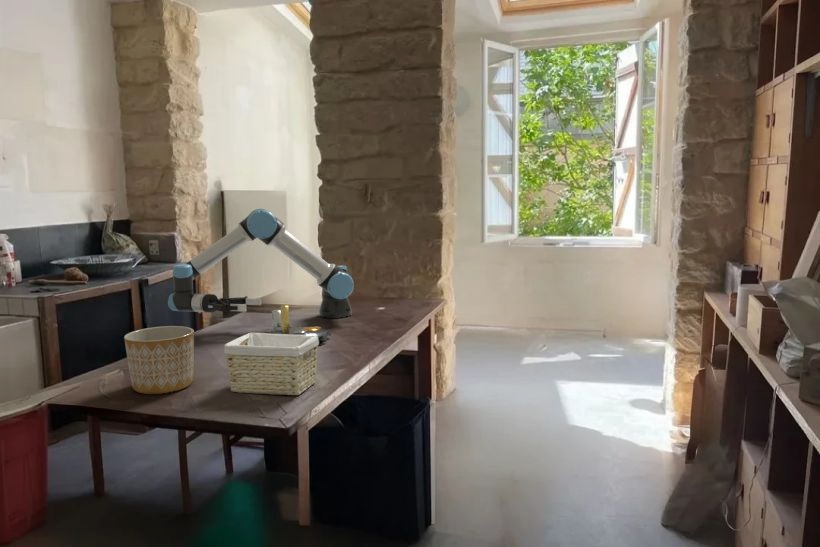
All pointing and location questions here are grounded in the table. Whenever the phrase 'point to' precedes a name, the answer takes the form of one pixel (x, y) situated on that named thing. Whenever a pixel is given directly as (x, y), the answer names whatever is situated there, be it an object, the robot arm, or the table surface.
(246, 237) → the robot arm
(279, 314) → the roller
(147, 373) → the planter
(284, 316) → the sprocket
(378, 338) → the table surface
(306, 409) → the table surface
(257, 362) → the storage basket
